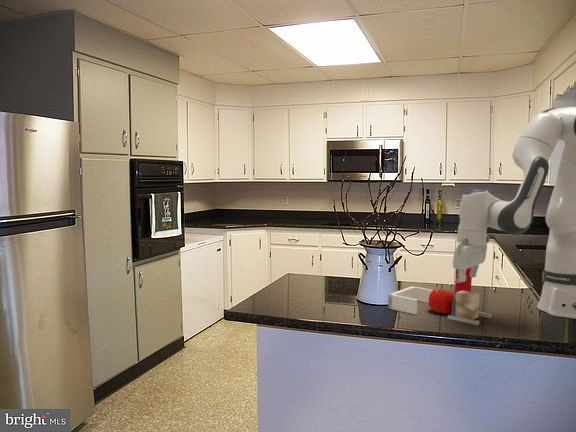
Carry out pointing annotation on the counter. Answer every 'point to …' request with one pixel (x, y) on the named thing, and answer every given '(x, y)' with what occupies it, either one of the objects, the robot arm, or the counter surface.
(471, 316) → the beige block
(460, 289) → the beverage can
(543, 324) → the counter surface
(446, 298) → the tomato
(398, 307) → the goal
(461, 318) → the track
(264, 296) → the counter surface
